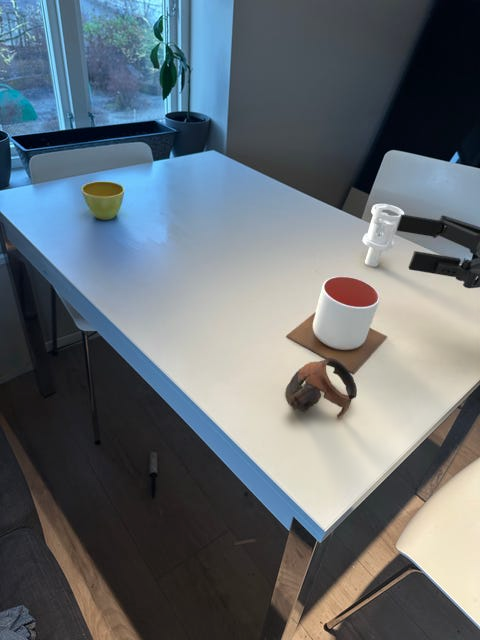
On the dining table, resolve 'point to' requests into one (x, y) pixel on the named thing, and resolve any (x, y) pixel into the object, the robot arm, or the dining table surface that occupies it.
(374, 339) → the coaster
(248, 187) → the dining table surface
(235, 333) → the dining table surface
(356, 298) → the cup
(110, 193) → the flower pot
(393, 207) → the white openwork cylinder
